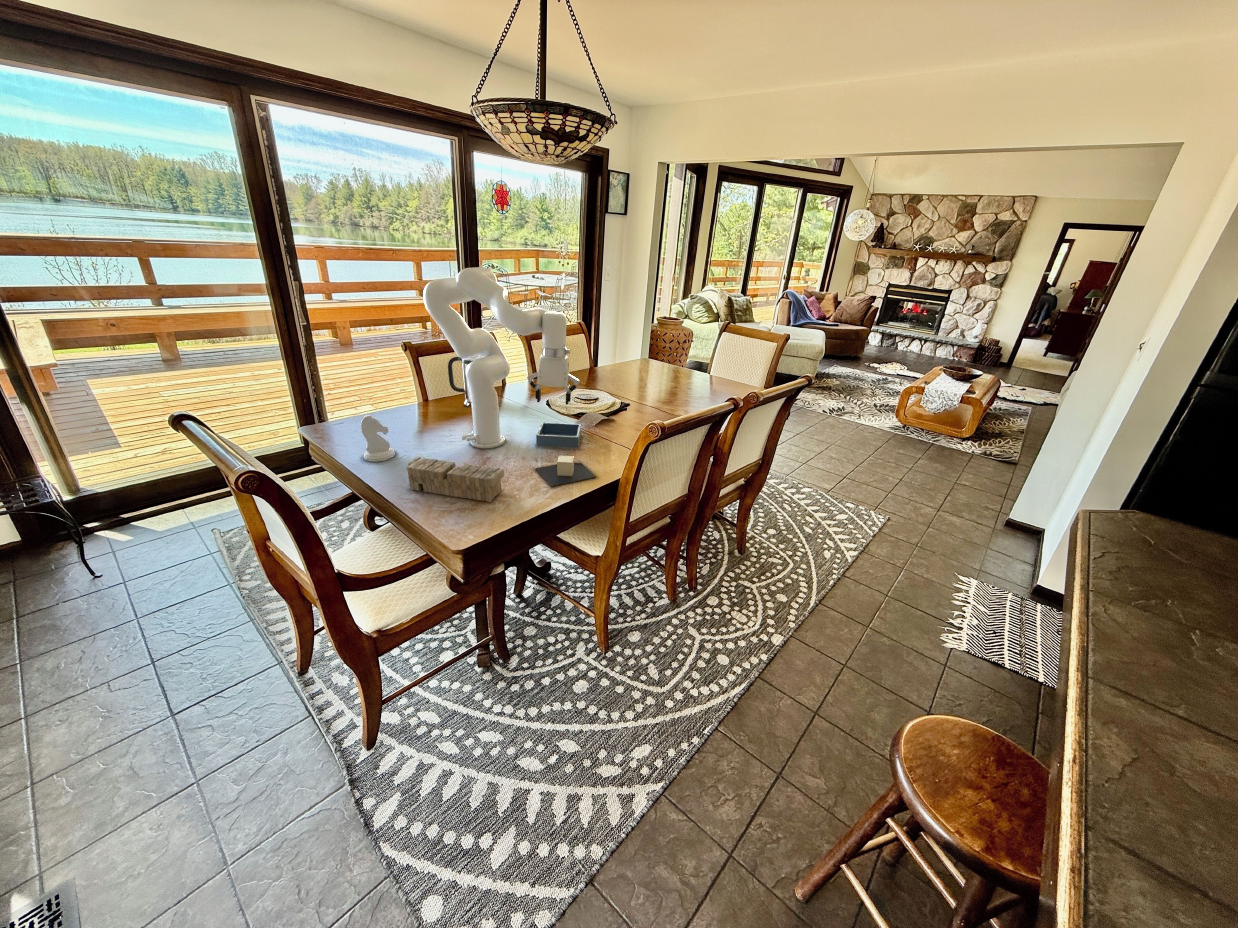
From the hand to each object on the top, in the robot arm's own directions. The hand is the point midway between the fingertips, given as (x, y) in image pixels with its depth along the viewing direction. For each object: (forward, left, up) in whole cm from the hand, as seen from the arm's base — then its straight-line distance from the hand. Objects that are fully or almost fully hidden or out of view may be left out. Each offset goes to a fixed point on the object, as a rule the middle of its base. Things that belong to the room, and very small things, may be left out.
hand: (553, 402), depth 163 cm
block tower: (-36, -10, -21) cm, 43 cm away
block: (-1, -13, -20) cm, 24 cm away
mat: (-1, -13, -21) cm, 25 cm away
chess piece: (-54, +26, -21) cm, 64 cm away
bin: (+8, +13, -21) cm, 26 cm away
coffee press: (-9, +70, -21) cm, 73 cm away
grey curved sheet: (+31, +27, -21) cm, 46 cm away
